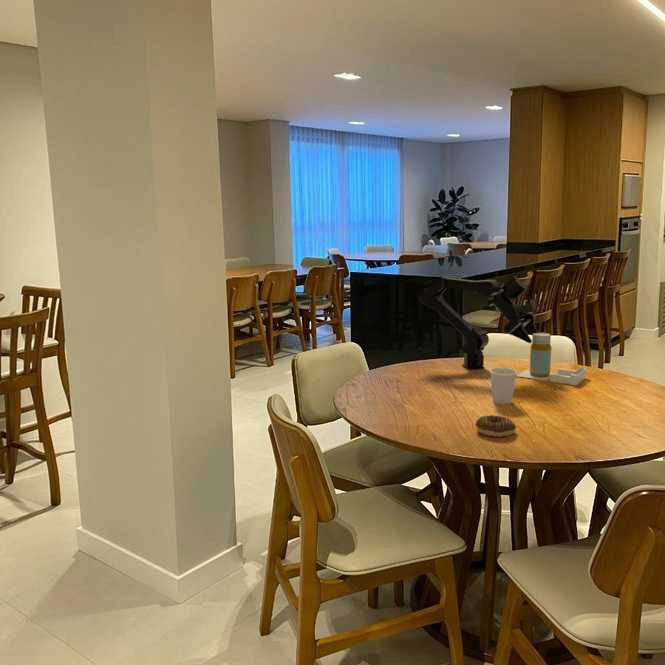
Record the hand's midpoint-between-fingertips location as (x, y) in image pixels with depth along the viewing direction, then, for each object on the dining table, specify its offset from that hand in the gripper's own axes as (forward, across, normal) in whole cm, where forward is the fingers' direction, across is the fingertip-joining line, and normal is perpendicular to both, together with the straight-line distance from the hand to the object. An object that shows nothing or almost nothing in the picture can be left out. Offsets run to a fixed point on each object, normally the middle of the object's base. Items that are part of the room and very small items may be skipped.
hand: (535, 340), depth 237 cm
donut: (+18, -66, +1) cm, 69 cm away
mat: (+10, 0, +8) cm, 13 cm away
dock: (+18, 0, +1) cm, 18 cm away
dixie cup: (+11, -38, +7) cm, 40 cm away
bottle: (+11, 0, +8) cm, 13 cm away
